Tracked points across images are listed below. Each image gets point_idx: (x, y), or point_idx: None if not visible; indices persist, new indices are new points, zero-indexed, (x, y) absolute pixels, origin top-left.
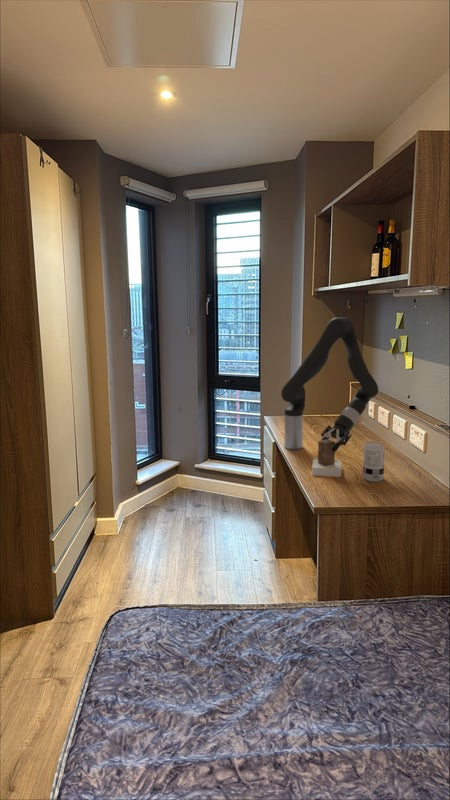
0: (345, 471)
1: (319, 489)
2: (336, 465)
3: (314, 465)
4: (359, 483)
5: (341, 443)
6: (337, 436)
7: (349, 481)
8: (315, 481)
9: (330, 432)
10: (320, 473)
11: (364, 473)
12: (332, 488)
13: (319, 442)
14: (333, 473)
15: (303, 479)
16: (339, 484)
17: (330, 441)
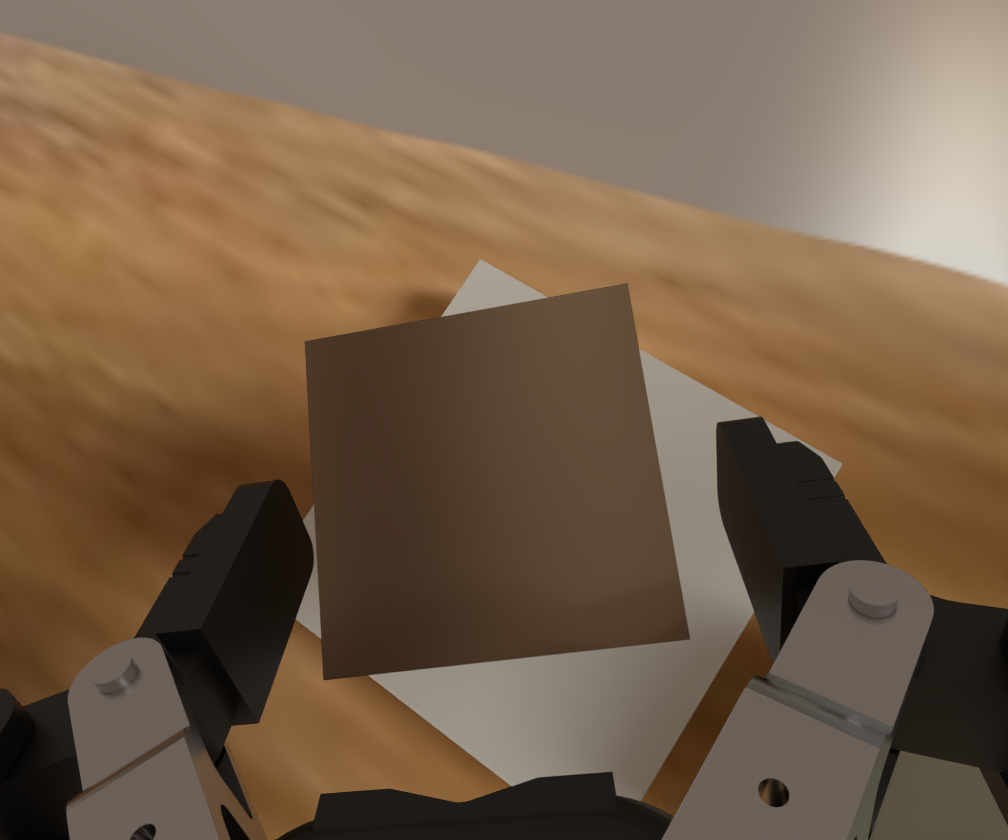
0: (448, 774)
1: (116, 173)
2: None
3: None
4: (37, 640)
5: (52, 722)
6: (135, 779)
7: (137, 576)
8: (311, 238)
9: (672, 828)
10: None
11: None
12: (74, 295)
13: (572, 304)
14: None
15: (419, 154)
16: (122, 419)
17: (424, 583)
